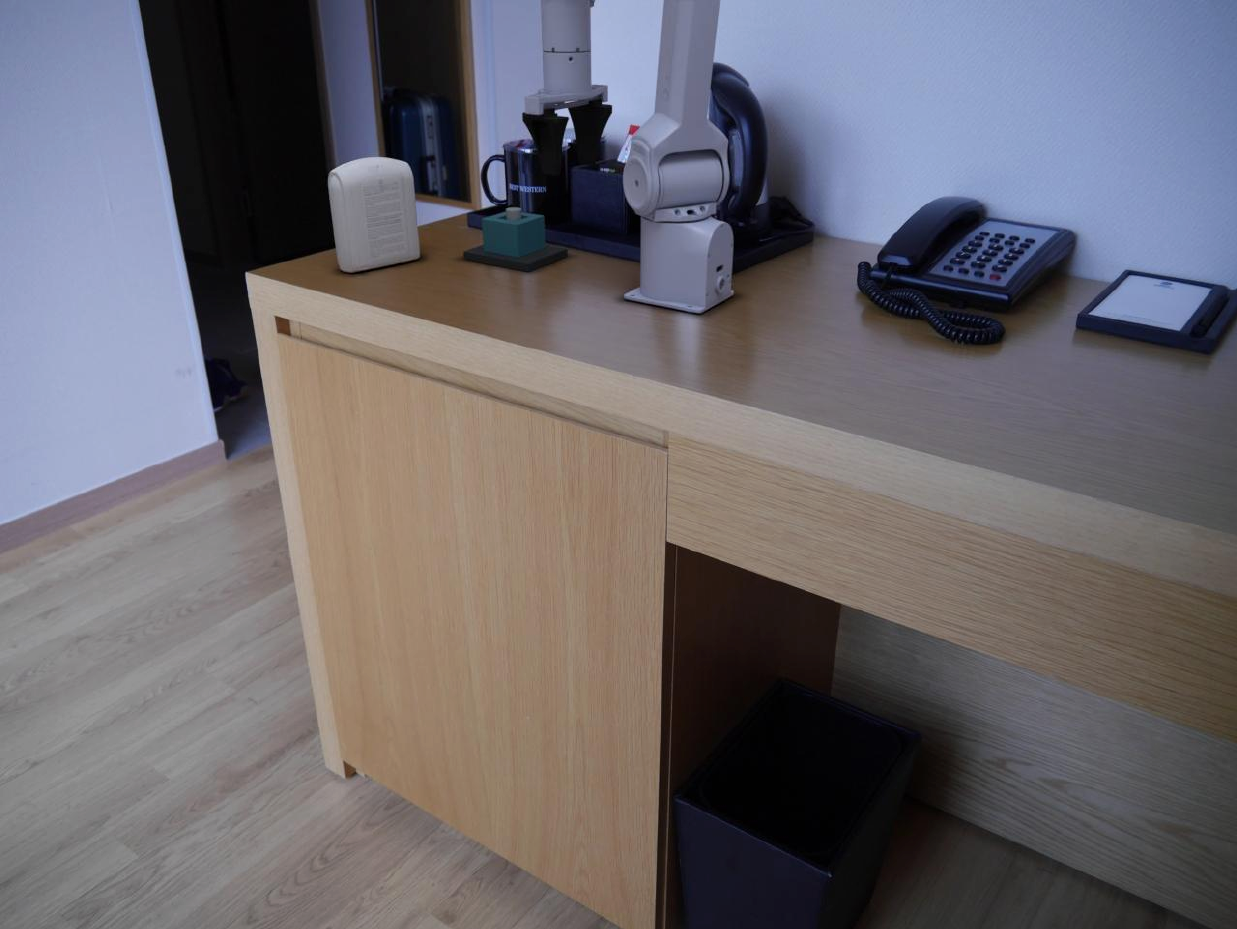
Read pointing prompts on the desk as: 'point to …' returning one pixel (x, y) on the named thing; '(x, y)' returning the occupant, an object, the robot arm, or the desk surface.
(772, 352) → the desk surface
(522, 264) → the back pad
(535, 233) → the teal block with hole
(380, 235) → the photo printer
